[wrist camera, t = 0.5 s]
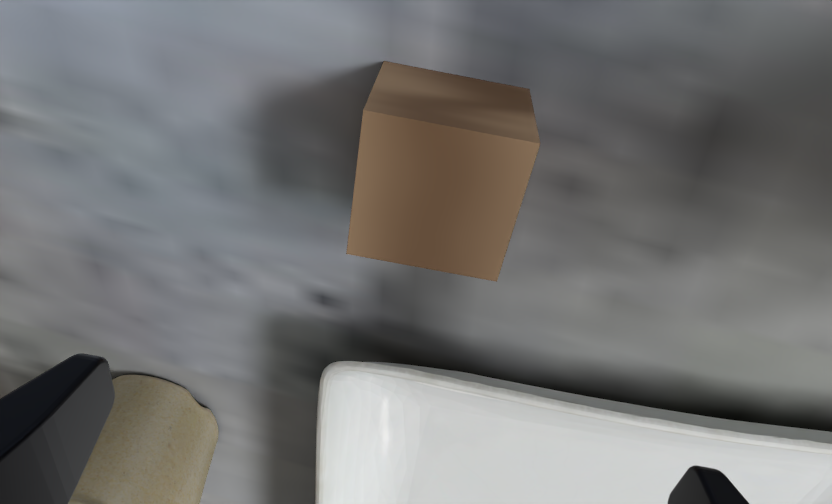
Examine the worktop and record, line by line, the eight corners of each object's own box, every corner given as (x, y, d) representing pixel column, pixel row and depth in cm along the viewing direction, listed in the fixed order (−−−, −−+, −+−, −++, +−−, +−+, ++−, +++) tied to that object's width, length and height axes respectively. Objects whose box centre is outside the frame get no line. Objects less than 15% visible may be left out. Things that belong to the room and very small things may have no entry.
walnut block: (529, 87, 18) (540, 143, 15) (493, 210, 21) (496, 281, 17) (384, 59, 18) (363, 109, 15) (367, 187, 20) (346, 253, 17)
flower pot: (20, 353, 27) (-141, 534, 20) (207, 336, 25) (103, 529, 18) (117, 475, 32) (16, 653, 25) (277, 468, 30) (217, 657, 23)
